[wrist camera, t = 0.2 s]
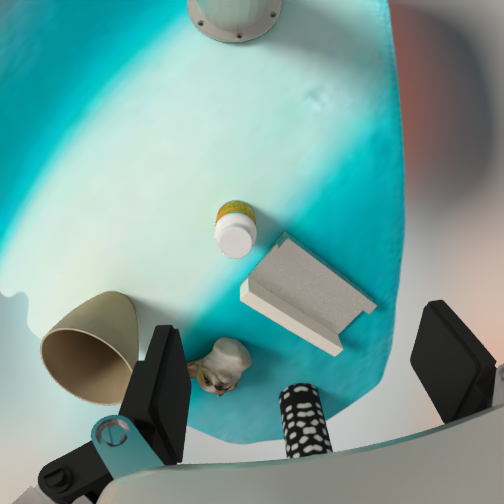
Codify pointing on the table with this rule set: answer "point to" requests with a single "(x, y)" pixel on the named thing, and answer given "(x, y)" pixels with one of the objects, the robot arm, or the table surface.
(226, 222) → the supplement bottle
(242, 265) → the table surface
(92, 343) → the plant pot
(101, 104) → the table surface
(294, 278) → the track
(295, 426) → the spotted tube
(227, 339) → the ceramic sculpture
